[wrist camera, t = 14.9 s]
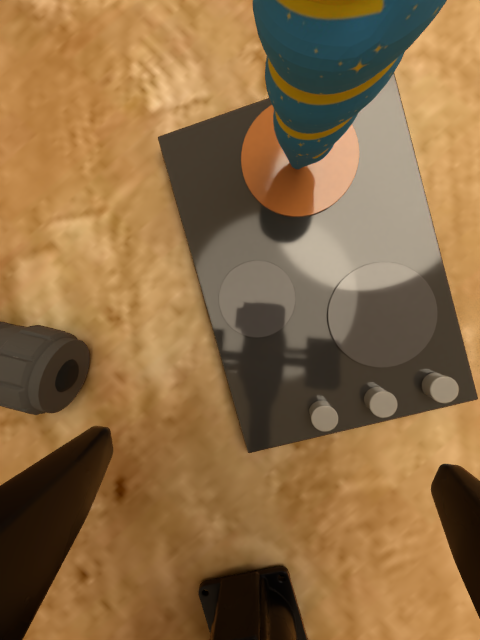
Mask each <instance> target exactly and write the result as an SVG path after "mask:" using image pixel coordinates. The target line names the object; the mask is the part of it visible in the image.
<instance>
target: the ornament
mask: <svg viewBox="0 0 480 640" xmlns="http://www.w3.org/2000/svg"><path fill="white" fill-rule="evenodd" d="M446 1H447V0H253V12H254V17H255V22H256V26H257V31H258V35H259V38H260V40H261V43H262V46H263V48H264V50H265V52H266V54H267V59H266V69H265V80H266V87H267V92H268V95H269V98H270V101H271V103H272V105H273V108H274V114H273V124H274V131H275V134H276V137H277V140H278V142H279V144H280V146H281V148H282V150H283V151H284V153H285V155H286V157H287V158H288V160H289V162H290V164H291V166H292V167H293V168H294V169H300V168H302V167H305V166H307V165H310V164H313V163H316V162H318V161H320V160H322V159H323V158H324V157H325V156H326V155H327V154H328V153H329V152H330V150H331V149H332V147H333V145H334V143H336V142H337V141H338V140H339V139H340V138H341V137H342V136H343V135H344V134H345V132H346V131H347V130H348V129H349V127H350V126H351V124H352V123H353V122H354V120H355V118H356V117H357V114H358V112H360V111H361V110H362V109H363V108H364V107H365V106H366V105H368V104H369V103H370V102H371V101H372V100H373V99H374V98H375V97H376V96H377V95H378V93H379V92H380V91H381V90H382V89H383V87H384V86H385V85H386V84H387V82H388V81H389V79H390V78H391V76H392V75H393V73H394V71H395V70H396V68H397V66H398V64H399V63H400V61H401V59H402V57H403V54H404V52H405V51H406V50H407V49H408V48H409V47H410V46H411V45H412V43H413V42H414V41H415V40H416V39H417V38H418V37H419V36H420V35H421V33H422V32H423V31H424V30H425V29H426V28H427V26H428V25H429V24H430V23H431V22H432V20H433V19H434V18H435V17H436V15H437V14H438V13H439V11H440V10H441V8H442V7H443V5H444V4H445V2H446Z"/></svg>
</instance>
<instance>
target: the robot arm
mask: <svg viewBox="0 0 480 640" xmlns="http://www.w3.org/2000/svg"><path fill="white" fill-rule="evenodd" d="M112 455H113V444H112V438H111V432H110V429H109V428H108V427H102V426H94V427H91V428H90V429H88V430H87V431H85V432H84V433H82V434H80V435H79V436H77V437H76V438H74V439H73V440H71V441H69V442H68V443H66V444H65V445H63V446H62V447H60V448H59V449H57V450H55V451H54V452H52V453H51V454H49V455H48V456H46V457H44V458H43V459H41V460H40V461H38V462H37V463H35V464H34V465H32V466H30V467H29V468H27V469H26V470H24V471H23V472H21V473H19V474H18V475H16V476H15V477H13V478H12V479H10V480H9V481H7V482H5V483H4V484H2V485H1V486H0V640H22V639H23V638H24V636H25V634H26V632H27V630H28V628H29V626H30V624H31V622H32V620H33V619H34V617H35V615H36V613H37V611H38V609H39V607H40V605H41V603H42V601H43V599H44V598H45V596H46V594H47V592H48V590H49V588H50V586H51V584H52V582H53V580H54V579H55V577H56V575H57V573H58V571H59V569H60V567H61V565H62V563H63V561H64V559H65V558H66V556H67V554H68V552H69V550H70V548H71V546H72V544H73V542H74V540H75V539H76V537H77V535H78V533H79V531H80V529H81V527H82V525H83V523H84V521H85V519H86V517H87V515H88V513H89V511H90V509H91V506H92V504H93V502H94V499H95V497H96V494H97V492H98V489H99V487H100V485H101V482H102V480H103V477H104V475H105V472H106V470H107V468H108V465H109V463H110V460H111V458H112ZM431 493H432V496H433V499H434V502H435V505H436V508H437V511H438V514H439V517H440V520H441V523H442V526H443V529H444V532H445V535H446V538H447V541H448V544H449V547H450V549H451V552H452V555H453V558H454V560H455V563H456V565H457V568H458V570H459V572H460V575H461V577H462V579H463V582H464V584H465V586H466V589H467V591H468V593H469V595H470V598H471V600H472V602H473V605H474V607H475V609H476V611H477V614H478V616H479V618H480V481H479V480H478V479H477V478H475V477H474V476H473V475H472V474H470V473H469V472H468V471H466V470H465V469H464V468H462V467H461V466H458V465H451V464H442V465H441V466H440V467H439V469H438V471H437V473H436V475H435V478H434V480H433V482H432V485H431ZM279 575H284V576H279ZM204 589H205V590H204ZM206 590H208V591H206ZM198 592H199V597H200V600H201V604H202V607H203V610H204V614H205V617H206V620H207V624H208V627H209V630H210V640H308V638H307V635H306V631H305V628H304V624H303V621H302V617H301V614H300V610H299V607H298V603H297V600H296V596H295V593H294V589H293V586H292V582H291V579H290V575H289V572H288V570H287V568H285V567H283V566H278V567H273V568H268V569H263V570H257V571H252V572H247V573H242V574H237V575H232V576H227V577H222V578H216V579H211V580H206V581H203V582H202V583H201V584H200V587H199V591H198Z"/></svg>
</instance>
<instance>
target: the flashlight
mask: <svg viewBox="0 0 480 640" xmlns="http://www.w3.org/2000/svg"><path fill="white" fill-rule="evenodd" d="M89 362H90V355H89V350H88V347H87V345H86V344H85V343H84V342H83V341H81V340H78V339H77V338H76V337H75V336H74V335H72V334H70V333H66V332H65V331H61V330H56V329H52V328H48V327H44V326H40V325H35V326H30V327H24V326H16V325H13V324H8V323H5V322H0V406H2V407H6V408H10V409H14V410H18V411H21V412H25V413H29V414H34V415H38V414H40V413H41V414H43V413H45V412H47V413H56V412H58V411H61V410H62V409H64V408H65V407H66V406H68V405H69V404H70V403H71V402H72V400H73V399H74V398H75V397H76V395H77V394H78V392H79V391H80V389H81V387H82V385H83V383H84V381H85V379H86V376H87V373H88V368H89Z"/></svg>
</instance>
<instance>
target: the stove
mask: <svg viewBox="0 0 480 640" xmlns="http://www.w3.org/2000/svg"><path fill="white" fill-rule="evenodd" d="M273 114H274V108H273V105H272V103H271V101H270V98H268V99H265V100H262V101H259V102H256V103H253V104H250V105H248V106H245V107H242V108H239V109H236V110H233V111H230V112H228V113H225V114H222V115H219V116H216V117H213V118H210V119H208V120H205V121H202V122H199V123H196V124H193V125H191V126H188V127H185V128H182V129H179V130H176V131H173V132H171V133H168V134H165V135H162V136H159V137H158V141H159V144H160V148H161V151H162V155H163V158H164V162H165V165H166V168H167V172H168V175H169V179H170V182H171V186H172V189H173V193H174V196H175V200H176V203H177V207H178V210H179V214H180V217H181V221H182V224H183V228H184V231H185V235H186V238H187V242H188V245H189V249H190V252H191V256H192V259H193V263H194V266H195V270H196V273H197V277H198V280H199V284H200V287H201V291H202V294H203V297H204V301H205V304H206V308H207V311H208V315H209V318H210V322H211V325H212V329H213V332H214V336H215V339H216V343H217V346H218V350H219V353H220V357H221V360H222V364H223V367H224V371H225V374H226V378H227V381H228V385H229V388H230V392H231V395H232V399H233V402H234V406H235V409H236V413H237V416H238V420H239V423H240V426H241V430H242V433H243V437H244V440H245V444H246V447H247V451H248V453H251V452H256V451H260V450H264V449H268V448H273V447H277V446H281V445H285V444H290V443H294V442H298V441H302V440H307V439H311V438H315V437H320V436H324V435H328V434H332V433H337V432H341V431H345V430H349V429H354V428H358V427H362V426H366V425H371V424H375V423H379V422H383V421H388V420H392V419H396V418H400V417H405V416H409V415H413V414H417V413H422V412H426V411H430V410H435V409H439V408H443V407H447V406H452V405H456V404H460V403H464V402H469V401H473V400H477V399H478V397H477V393H476V389H475V385H474V381H473V377H472V373H471V370H470V366H469V362H468V358H467V354H466V350H465V346H464V342H463V339H462V335H461V331H460V327H459V323H458V319H457V315H456V311H455V307H454V304H453V300H452V296H451V292H450V288H449V284H448V280H447V276H446V272H445V269H444V265H443V261H442V257H441V253H440V249H439V245H438V241H437V238H436V234H435V230H434V226H433V222H432V218H431V214H430V210H429V206H428V203H427V199H426V195H425V191H424V187H423V183H422V179H421V175H420V171H419V168H418V164H417V160H416V156H415V152H414V148H413V144H412V140H411V137H410V133H409V129H408V125H407V121H406V117H405V113H404V109H403V105H402V102H401V98H400V94H399V90H398V86H397V82H396V78H395V74H394V73H393V75H392V76H391V78H390V79H389V81H388V82H387V84H386V85H385V86H384V87H383V89H382V90H381V91H380V92H379V93H378V95H377V96H376V97H375V98H374V99H373V100H372V101H371V102H370V103H369V104H368V105H366V106H365V107H364V108H363V109H362V110H361V111H360V112H358V114H357V117H356V118H355V120H354V122H353V123H352V124H351V126H350V127H349V129H348V130H347V131H346V132H345V134H344V135H343V136H342V137H341V138H340V139H339V140H338V141H337V142H336V143H334V145H333V147H332V149H331V150H330V152H329V153H328V154H327V155H326V156H325V157H324V158H323V159H322V160H320V161H318V162H316V163H313V164H310V165H307V166H305V167H302V168H300V169H294V168H293V167H292V166H291V164H290V162H289V160H288V158H287V157H286V155H285V153H284V151H283V150H282V148H281V146H280V144H279V142H278V140H277V137H276V134H275V131H274V124H273Z"/></svg>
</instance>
